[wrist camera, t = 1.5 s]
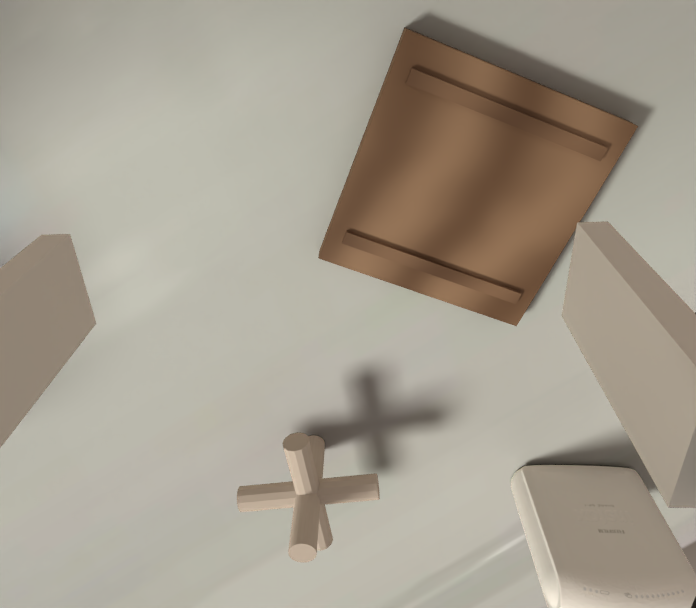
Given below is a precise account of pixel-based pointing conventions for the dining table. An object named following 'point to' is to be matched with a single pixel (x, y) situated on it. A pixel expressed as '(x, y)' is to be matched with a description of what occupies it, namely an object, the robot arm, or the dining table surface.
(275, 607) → the dining table surface
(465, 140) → the trivet
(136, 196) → the dining table surface
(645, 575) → the photo printer
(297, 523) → the pipe connector
